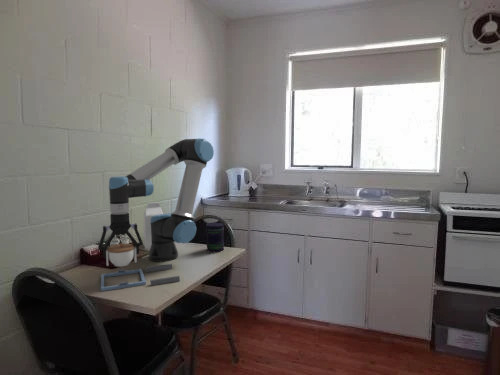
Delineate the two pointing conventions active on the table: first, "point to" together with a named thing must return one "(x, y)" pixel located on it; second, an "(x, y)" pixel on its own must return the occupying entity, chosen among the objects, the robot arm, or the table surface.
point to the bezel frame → (122, 284)
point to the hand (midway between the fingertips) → (121, 263)
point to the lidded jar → (121, 254)
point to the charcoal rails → (162, 280)
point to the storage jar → (215, 237)
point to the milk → (149, 212)
